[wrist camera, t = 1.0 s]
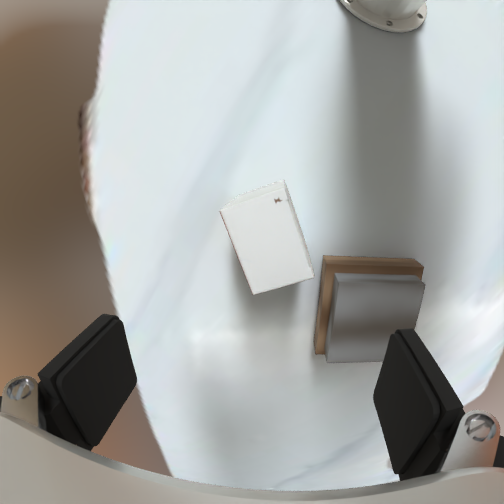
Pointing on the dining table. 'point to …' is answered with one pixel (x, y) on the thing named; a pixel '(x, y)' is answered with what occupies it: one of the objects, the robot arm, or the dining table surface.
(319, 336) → the tower base
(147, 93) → the dining table surface
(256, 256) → the small box
